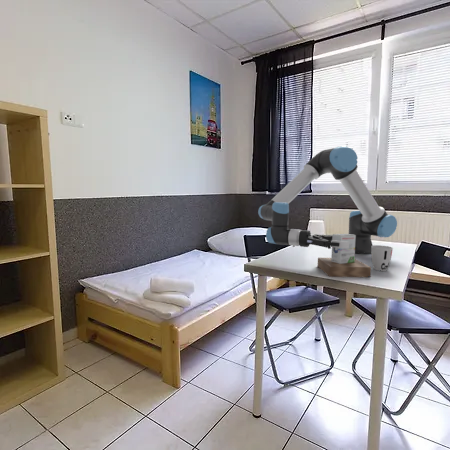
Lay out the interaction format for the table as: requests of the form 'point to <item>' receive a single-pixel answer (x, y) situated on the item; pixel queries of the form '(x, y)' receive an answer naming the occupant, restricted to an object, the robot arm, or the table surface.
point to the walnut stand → (344, 268)
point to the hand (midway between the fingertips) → (351, 242)
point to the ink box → (344, 249)
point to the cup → (381, 257)
